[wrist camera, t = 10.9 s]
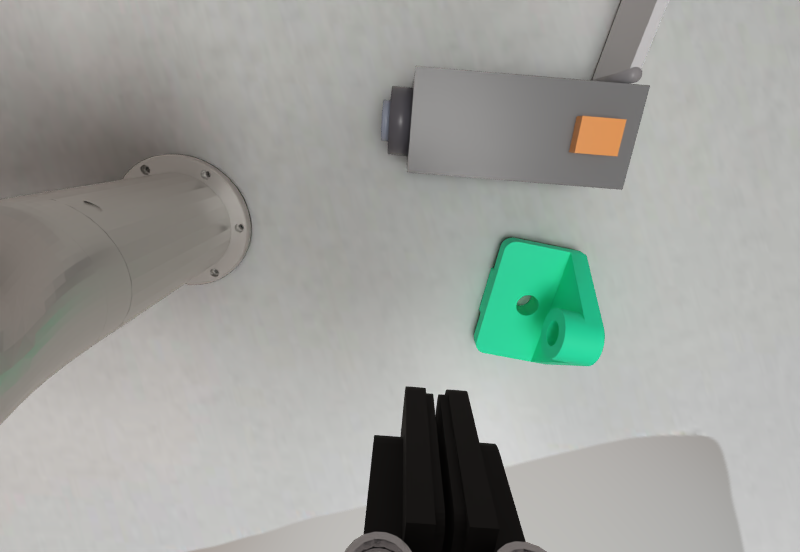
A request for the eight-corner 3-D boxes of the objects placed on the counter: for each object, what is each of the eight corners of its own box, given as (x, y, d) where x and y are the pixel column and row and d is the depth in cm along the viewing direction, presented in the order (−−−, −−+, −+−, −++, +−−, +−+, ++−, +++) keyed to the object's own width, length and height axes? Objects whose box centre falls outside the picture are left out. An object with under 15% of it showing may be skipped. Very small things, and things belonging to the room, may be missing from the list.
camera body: (383, 162, 36) (376, 171, 28) (388, 77, 34) (382, 58, 26) (578, 178, 37) (629, 191, 28) (596, 94, 34) (659, 82, 26)
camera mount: (501, 232, 39) (532, 265, 29) (575, 248, 39) (630, 285, 29) (469, 338, 43) (488, 398, 33) (537, 351, 43) (575, 413, 33)
